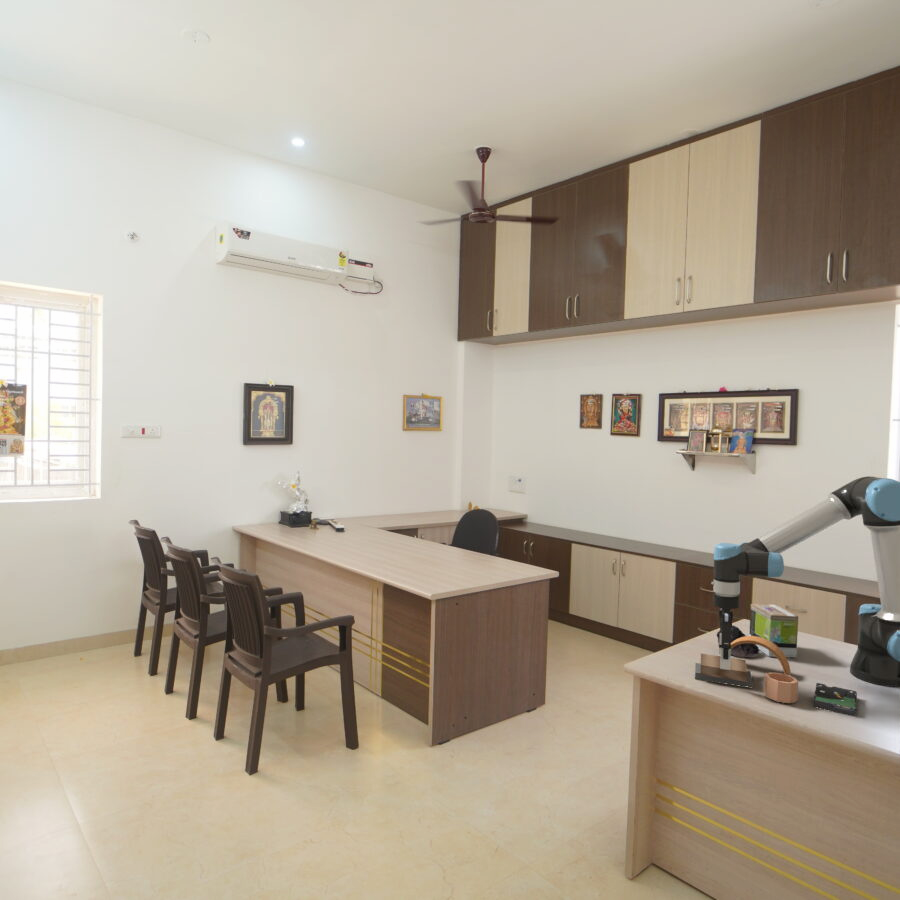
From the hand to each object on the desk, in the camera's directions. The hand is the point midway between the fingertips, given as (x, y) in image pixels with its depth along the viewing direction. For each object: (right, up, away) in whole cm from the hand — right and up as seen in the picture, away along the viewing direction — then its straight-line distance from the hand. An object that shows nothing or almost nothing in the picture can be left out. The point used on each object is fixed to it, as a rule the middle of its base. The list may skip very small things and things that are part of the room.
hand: (724, 661), depth 195 cm
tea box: (+29, -5, +27) cm, 40 cm away
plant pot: (+10, -6, -14) cm, 18 cm away
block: (0, -5, 0) cm, 5 cm away
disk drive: (+25, -7, -16) cm, 30 cm away
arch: (+14, -6, +9) cm, 18 cm away
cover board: (0, -3, 0) cm, 3 cm away
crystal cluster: (+15, -5, +25) cm, 30 cm away
